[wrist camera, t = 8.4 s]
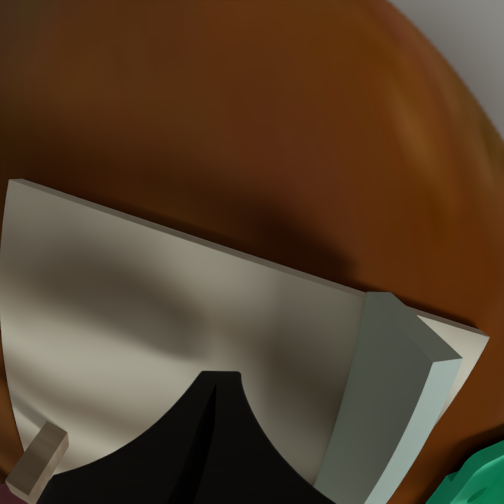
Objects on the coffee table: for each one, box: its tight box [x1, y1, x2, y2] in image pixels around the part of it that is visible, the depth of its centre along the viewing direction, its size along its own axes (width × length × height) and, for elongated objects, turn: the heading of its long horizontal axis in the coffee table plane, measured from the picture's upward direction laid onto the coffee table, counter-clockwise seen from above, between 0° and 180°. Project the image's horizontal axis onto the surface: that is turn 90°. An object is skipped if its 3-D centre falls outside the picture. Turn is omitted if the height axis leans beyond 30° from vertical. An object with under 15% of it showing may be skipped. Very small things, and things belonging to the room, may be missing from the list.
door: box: [313, 292, 463, 504], centre depth 10 cm, size 2×16×5 cm, turn 177°
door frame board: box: [0, 179, 490, 504], centre depth 11 cm, size 22×24×6 cm
